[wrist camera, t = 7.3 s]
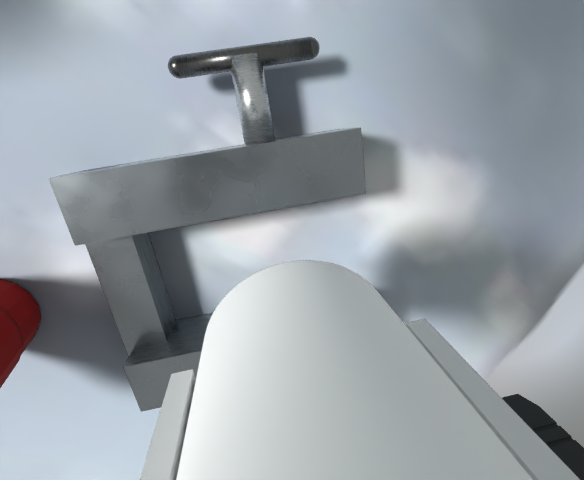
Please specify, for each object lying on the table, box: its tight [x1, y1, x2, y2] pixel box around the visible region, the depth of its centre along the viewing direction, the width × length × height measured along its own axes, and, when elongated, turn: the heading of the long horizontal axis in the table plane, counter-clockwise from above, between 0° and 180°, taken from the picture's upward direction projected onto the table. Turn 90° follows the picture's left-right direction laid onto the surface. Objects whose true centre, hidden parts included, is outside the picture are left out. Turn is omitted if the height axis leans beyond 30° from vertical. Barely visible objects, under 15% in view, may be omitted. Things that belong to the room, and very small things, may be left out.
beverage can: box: [176, 260, 533, 480], centre depth 9 cm, size 8×8×12 cm
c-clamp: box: [49, 37, 366, 411], centre depth 23 cm, size 18×23×5 cm
